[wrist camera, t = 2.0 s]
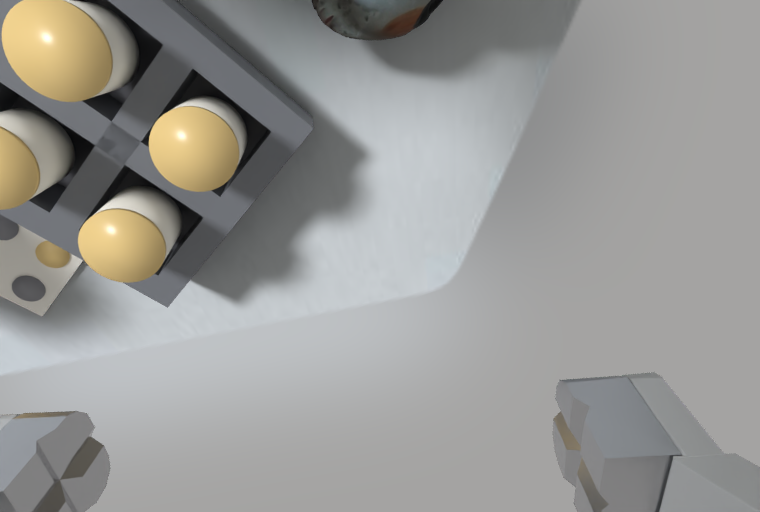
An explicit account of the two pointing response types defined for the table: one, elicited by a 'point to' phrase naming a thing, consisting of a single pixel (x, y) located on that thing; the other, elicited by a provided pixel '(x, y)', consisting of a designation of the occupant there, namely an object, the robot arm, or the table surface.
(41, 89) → the button
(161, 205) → the button
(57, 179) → the button
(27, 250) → the card
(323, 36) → the table surface
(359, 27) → the lucky cat figurine
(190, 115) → the button
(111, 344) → the table surface
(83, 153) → the board
